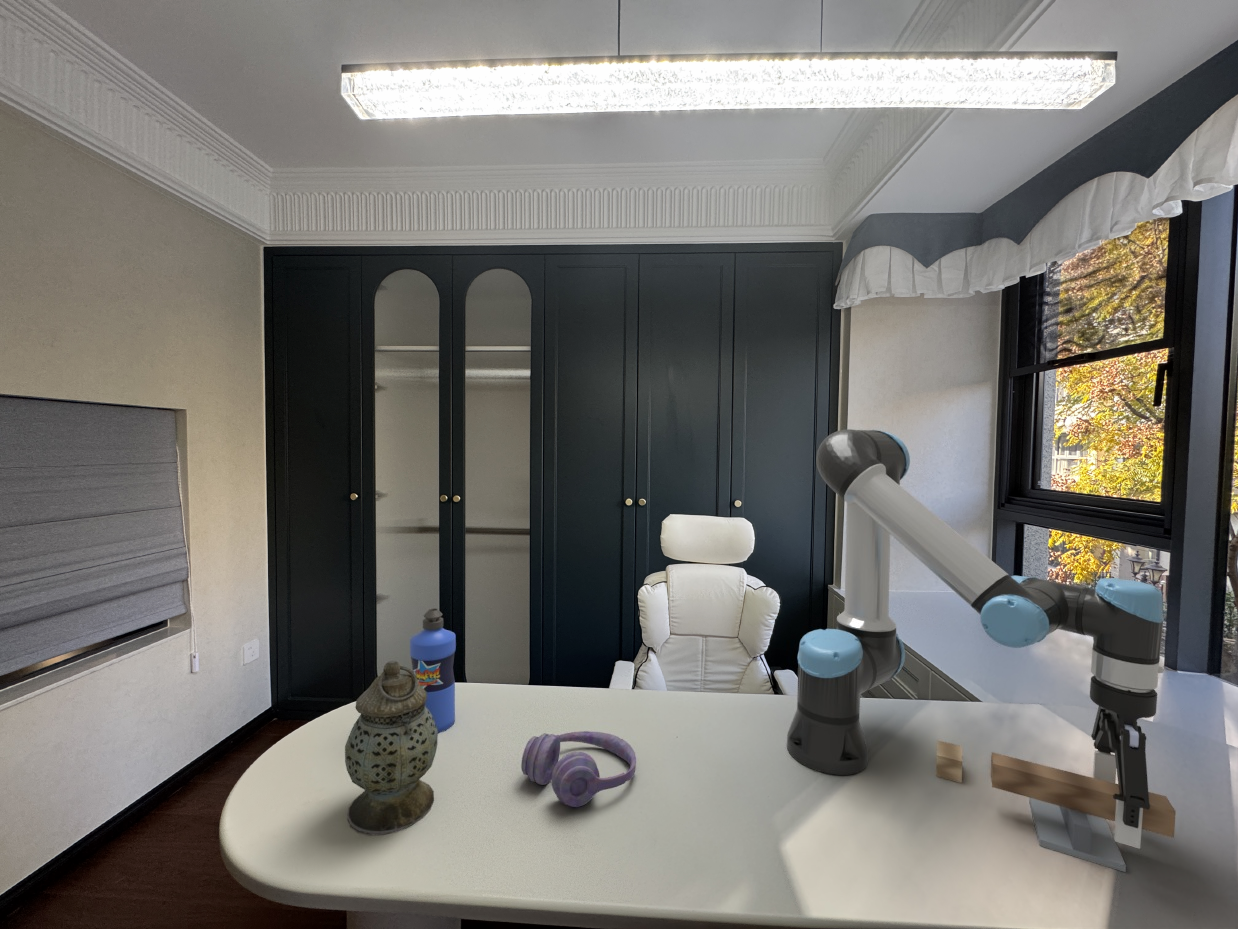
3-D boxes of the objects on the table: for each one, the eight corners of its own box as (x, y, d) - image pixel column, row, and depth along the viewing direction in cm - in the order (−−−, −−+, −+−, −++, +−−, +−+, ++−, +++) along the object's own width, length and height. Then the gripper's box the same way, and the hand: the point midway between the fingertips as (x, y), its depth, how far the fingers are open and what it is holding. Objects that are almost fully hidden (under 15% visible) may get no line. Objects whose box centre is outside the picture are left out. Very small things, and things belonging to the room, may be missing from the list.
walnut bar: (992, 787, 91) (993, 763, 91) (990, 774, 94) (991, 752, 94) (1174, 838, 80) (1175, 811, 80) (1164, 821, 83) (1166, 796, 83)
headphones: (573, 826, 87) (653, 788, 101) (580, 773, 87) (658, 743, 102) (506, 776, 99) (585, 749, 114) (512, 730, 100) (590, 709, 114)
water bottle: (447, 735, 114) (447, 617, 113) (403, 734, 114) (402, 616, 113) (461, 713, 123) (461, 603, 122) (419, 712, 123) (419, 602, 122)
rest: (936, 776, 102) (937, 755, 102) (936, 760, 107) (937, 740, 107) (961, 783, 100) (962, 761, 100) (960, 766, 105) (961, 746, 105)
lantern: (441, 777, 100) (441, 642, 99) (431, 831, 86) (431, 675, 85) (358, 786, 97) (357, 647, 96) (334, 844, 83) (333, 683, 82)
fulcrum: (1039, 845, 85) (1041, 814, 84) (1029, 802, 95) (1030, 774, 95) (1125, 872, 80) (1127, 839, 79) (1104, 823, 90) (1106, 794, 90)
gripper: (1188, 725, 71) (1176, 882, 72) (1132, 659, 92) (1123, 781, 94) (1112, 709, 75) (1102, 858, 76) (1075, 650, 96) (1067, 767, 97)
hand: (1114, 816), depth 85 cm, fingers open, 13 cm apart
